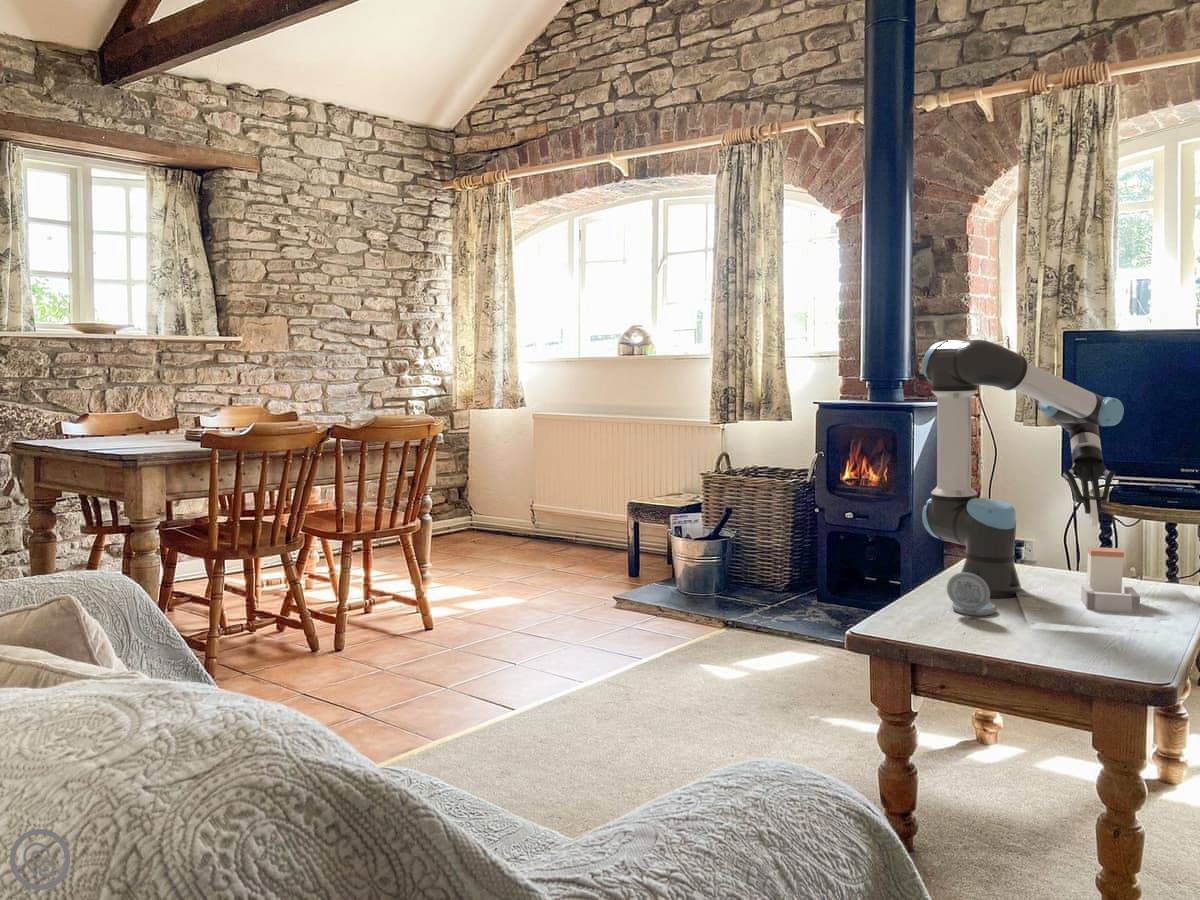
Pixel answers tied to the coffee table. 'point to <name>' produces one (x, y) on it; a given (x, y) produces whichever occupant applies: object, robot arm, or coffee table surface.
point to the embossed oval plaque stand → (970, 595)
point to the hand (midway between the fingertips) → (1094, 522)
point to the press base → (1110, 600)
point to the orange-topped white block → (1105, 569)
